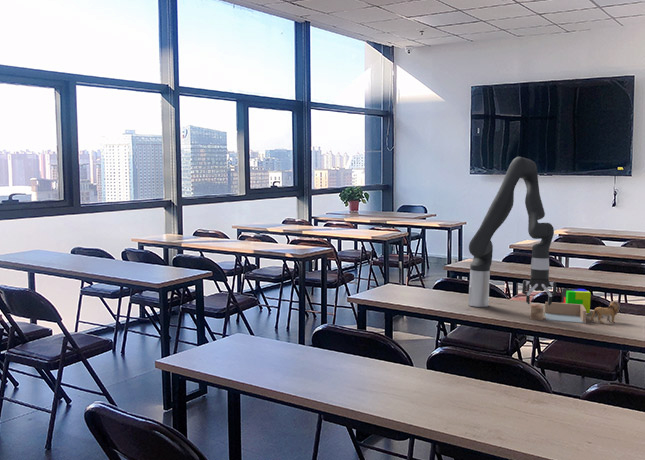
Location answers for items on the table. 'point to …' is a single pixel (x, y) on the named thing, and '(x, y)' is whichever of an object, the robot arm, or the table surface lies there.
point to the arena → (565, 312)
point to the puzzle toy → (577, 297)
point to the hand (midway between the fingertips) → (538, 304)
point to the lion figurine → (606, 312)
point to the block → (536, 312)
